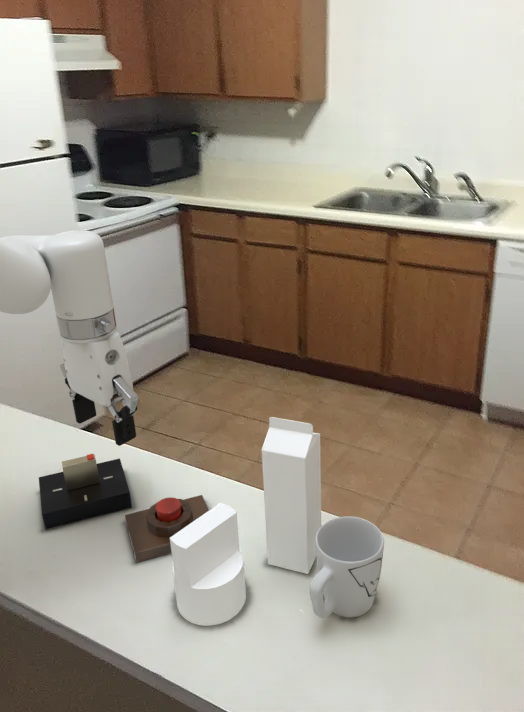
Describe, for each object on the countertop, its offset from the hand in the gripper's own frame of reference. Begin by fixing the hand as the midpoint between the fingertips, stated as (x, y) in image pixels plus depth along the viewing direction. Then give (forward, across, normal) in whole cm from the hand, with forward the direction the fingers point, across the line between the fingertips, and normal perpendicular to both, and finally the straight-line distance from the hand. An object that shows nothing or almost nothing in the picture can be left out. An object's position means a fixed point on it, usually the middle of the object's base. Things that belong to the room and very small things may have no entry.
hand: (105, 429), depth 98 cm
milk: (+15, -28, -10) cm, 33 cm away
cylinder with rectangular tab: (+15, -24, +3) cm, 29 cm away
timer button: (+12, -10, -2) cm, 16 cm away
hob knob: (+12, +7, +2) cm, 14 cm away
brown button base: (+15, -10, -2) cm, 18 cm away
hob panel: (+15, +7, +2) cm, 16 cm away
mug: (+15, -38, -6) cm, 42 cm away
